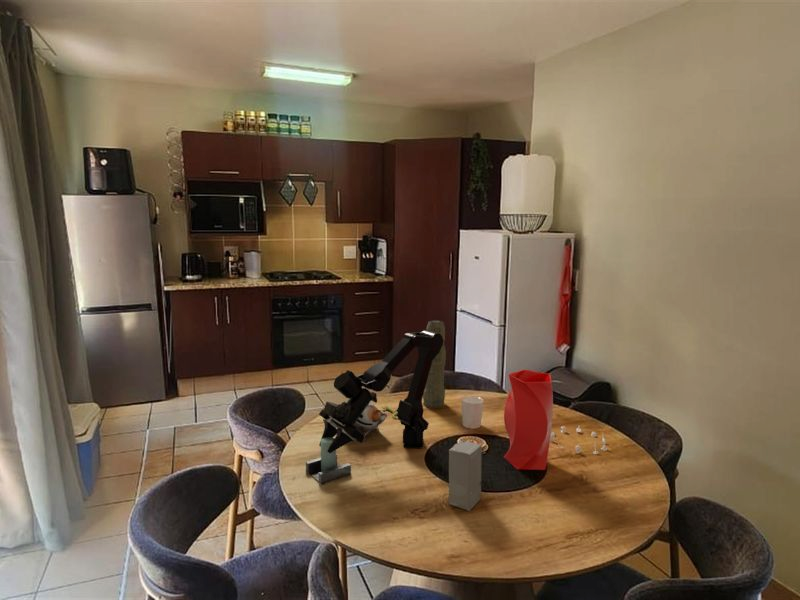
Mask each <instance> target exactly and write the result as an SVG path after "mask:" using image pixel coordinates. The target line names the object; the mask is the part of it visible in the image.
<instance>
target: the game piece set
mask: <svg viewBox="0 0 800 600" xmlns="http://www.w3.org/2000/svg"><path fill="white" fill-rule="evenodd" d="M560 429H561V430H560V432H561V433H562V434H564V433H567V432H566V429H567V427H566V426H560ZM576 433H582V429H581V426H580V425H578V427H577V428H576ZM590 435H591V437H592V438H596V437H597V433H596V431H593V430H592V432H591V434H590ZM601 435H602V437H601V440H602V443H603V445H602V446H601V445H600V447H601V448H600V450H601V451H608V450H609V447H606V444H607V441H606V438H605V436H604V433H602V434H601ZM555 436H556V433H555V432H554V430H553V431H551V436H550V442H554V438H555ZM557 445H558V446H559V448H558V449H560V450H563V449H564V447H563V446H561V445H560V444H559V443H557ZM596 447H597V443H595V442H594V451H592V453H593V454H594V455H599V451H597V448H596ZM581 450H582V447H581V446H580V445H576V446H575V453H576V454H580V451H581Z"/></svg>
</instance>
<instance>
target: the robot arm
mask: <svg viewBox="0 0 800 600" xmlns="http://www.w3.org/2000/svg"><path fill="white" fill-rule="evenodd" d="M442 345H443V338H442V336H441V334H439V333H435V332H432V331H428V330H426V329H425V330H423V331H421V332H420V331H419V332H418V331H417V332H407V333H405V334H404V335H403V336H402V339H401V340H399V342H398V343H397V344H396V345H395V346H394V347H393V348H392V349H391V350H390V351H389V352H388V353H387V355H386V356H385V357H384V358H383V359H382V360H381V361H379V362H378V363H376V364H373V365H372V366H370V367H369V368H367V369H366V370H365V371H364V372H363V373H361V374H358V375H355V373H354V372H353V371H352V370H349V369H347V370H346V371H345V372H342V373H340V375H338V376H336V378H335V379H334V381H333V387H334V389H336V390H337V392H339V393H340V394H341V395H343V396H344V397H345V398H346V399H348V400H347V401H343V402H342V403H339V404H338V403H334V402H330V401H326V402H325V405H324V407H323V409H321V411H320V412H319V414H318V415H319V416H320V417H321V418H323V420H322V421H323V422H324V429H323V433H322V436H321V438H320V442H319V447H320V448H321V439H323V438H327V437H332V438H334V437H335V439H334V440H333V442H332V444H331V445H330V447H329V449H328V451H327V452H329V453H331V452H333V451H335V450H336V451H337V450H338V449H340V448H341V447H344V446H345V445H348V444H349V443H354V442H355V441H356V442H357V443H360V444H361V445H362V444H363V443H364V441H365V440H366V435H365V434H364V433H363V432H361V431H360V430H359V429H358V428H357V427H355V426H353V425H354V424H355V422H356V421H357V420H358V418H361V419H362V418H363V415H362V413H363V411H364V410H365V408H366V407H367V406H368V404H369V403H370V402H374V403H378V398H377V393H376V392H378V393H379V392H382V391H383V390H384V389H385V388H386V387H387V385H388V384H389V382H390V381H391V379H392V373H393V372H394V371H395V370H396V369H397V368H398V367H399V365H400V364H402V362H403V361H404V360H405V359H406V358H407V357H408V355H410V353H411V352H412V351H413V350H414V349H415V348H416V347H417V353H418V357H417V361H416V364H415V368H414V370H413V376H412V378H411V383H410V386H409V390H408V393H407V396H406V397H405V398H404V400H402V399H400V400H399V403H398V407H397V409H396V410H397V415H396V417H398V419H397V420H399V421H400V424H401V425H402V426H404V428H402V444H403V448H409V449H410V448H411V449H413V448H414V449H423V448H424V432H425V431H426V430H428V427H429V425H430V424H429V422H428V421H427V419H425V418H424V417H423V415H424V407H423V406H424V405H423V394H424V390H425V386H426V383H427V379H428V376H429V372H430V368H431V365H432V361H433V359H434V358H435V357H436V356H437V355H438V354H439V352H440V350H441V347H442ZM370 390H372V392H371V391H370ZM373 391H374V392H373ZM340 422H341V423H340ZM337 426H339V427H340V428H342V429H343V430H342V431H341V430H340V429H338V428H337ZM354 439H355V440H354Z"/></svg>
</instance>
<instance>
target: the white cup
mask: <svg viewBox="0 0 800 600" xmlns="http://www.w3.org/2000/svg"><path fill="white" fill-rule="evenodd" d="M483 409H484V399H483V398H482V397H479V396H474V395H467V396H464V397H462V398H461V418H462V421H461V422H462V426H463V427H464V428H467V429H472V430H473V429H474V430H475V429H479V428H481V425H482V417H483Z"/></svg>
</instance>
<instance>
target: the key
mask: <svg viewBox="0 0 800 600" xmlns="http://www.w3.org/2000/svg"><path fill="white" fill-rule="evenodd" d="M381 409H383V410H385V409H387V410H388V411H390V412H392V414H391V415H392V416H391V418H392V419H393V420H399V419H398V417H397V409H394V408H392V407H391V406H389V405H387V404H385V405H384V406H381Z"/></svg>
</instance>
